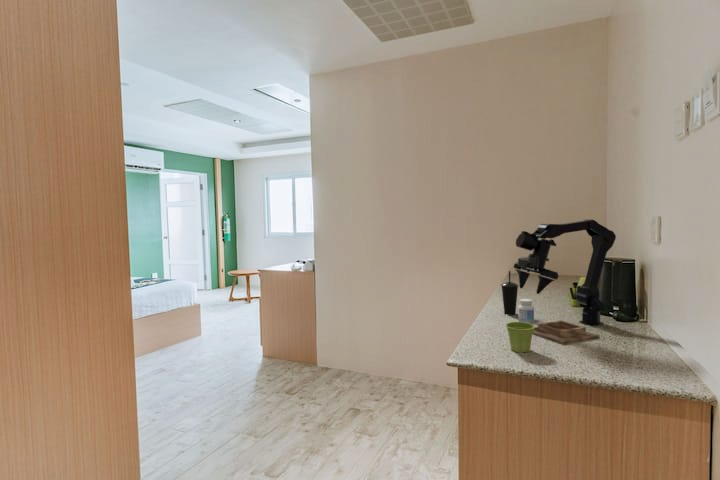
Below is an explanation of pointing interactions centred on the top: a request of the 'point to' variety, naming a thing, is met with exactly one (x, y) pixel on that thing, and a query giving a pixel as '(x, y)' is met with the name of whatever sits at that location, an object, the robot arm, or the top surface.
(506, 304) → the drinking cup
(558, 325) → the holder
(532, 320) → the pill bottle
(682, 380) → the top surface
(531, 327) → the plant pot
